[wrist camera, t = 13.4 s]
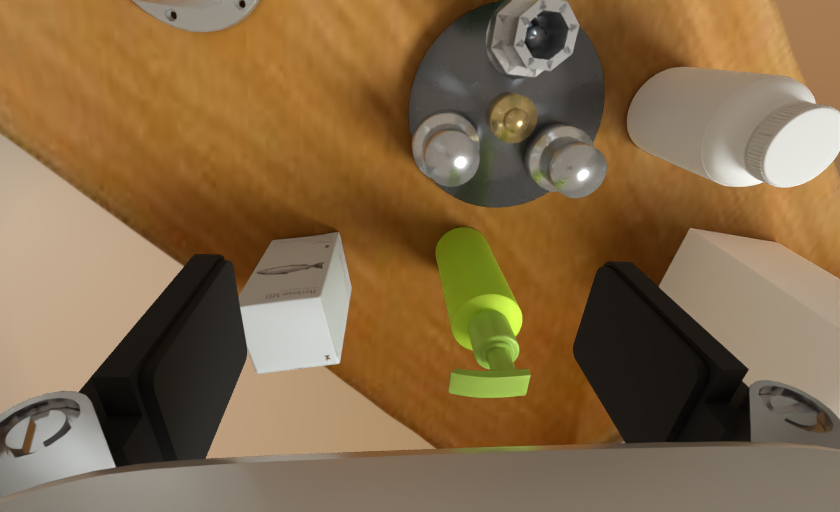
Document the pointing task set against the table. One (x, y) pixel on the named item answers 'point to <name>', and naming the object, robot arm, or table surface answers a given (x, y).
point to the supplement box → (297, 304)
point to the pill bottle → (735, 126)
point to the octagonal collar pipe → (510, 34)
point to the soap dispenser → (480, 316)
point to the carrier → (506, 118)
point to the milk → (763, 309)
